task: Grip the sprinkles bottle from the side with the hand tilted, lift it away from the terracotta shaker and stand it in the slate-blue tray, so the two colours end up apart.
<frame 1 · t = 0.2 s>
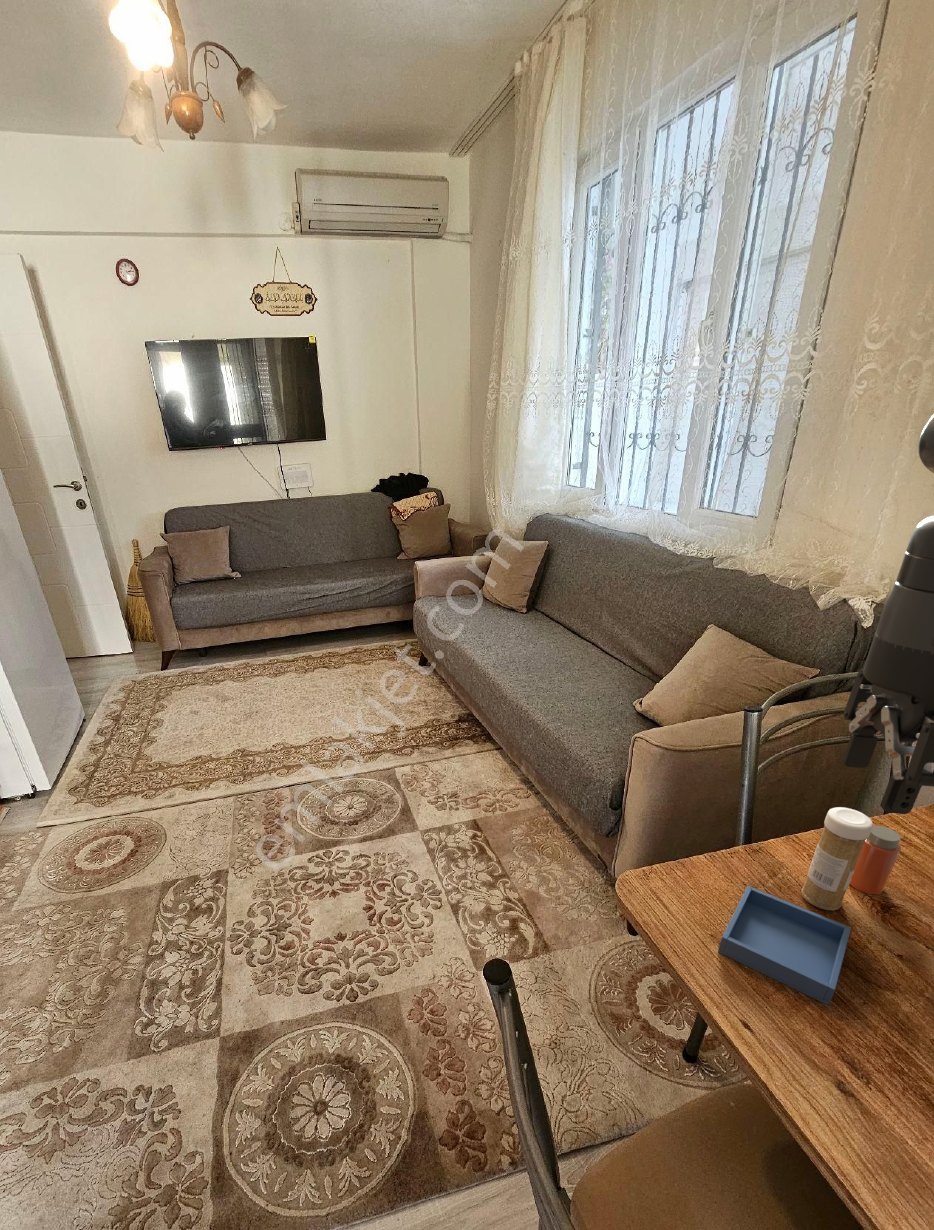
hand: (872, 787, 59), 23 cm above the table, tool pointing down, fingers open, 8 cm apart
blue tray: (781, 947, 70), on the table
terracotta shaker: (864, 884, 79), on the table
sprinkles bottle: (819, 900, 77), on the table
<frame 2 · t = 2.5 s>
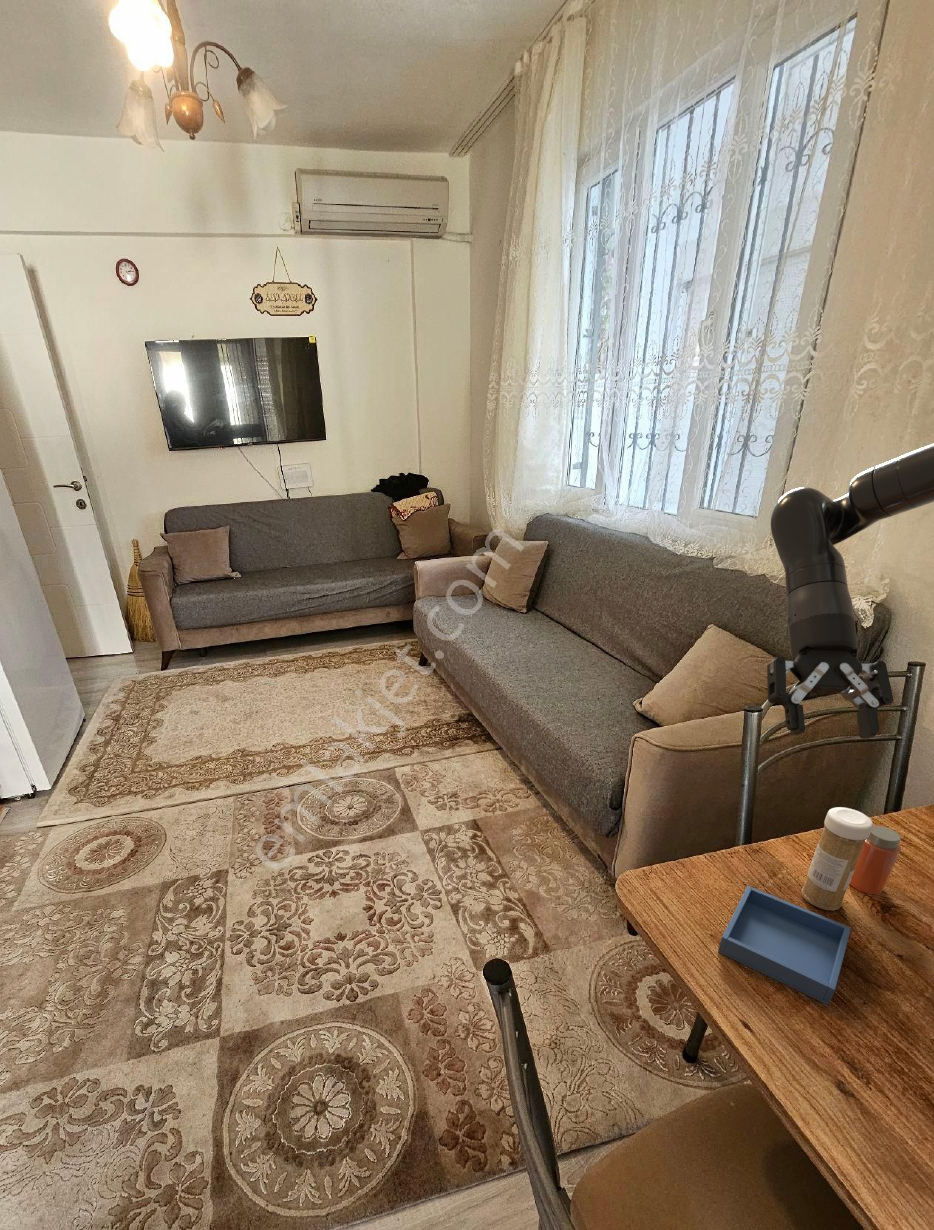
hand: (833, 735, 76), 20 cm above the table, tool tilted 40°, fingers open, 8 cm apart
nothing on the table moved.
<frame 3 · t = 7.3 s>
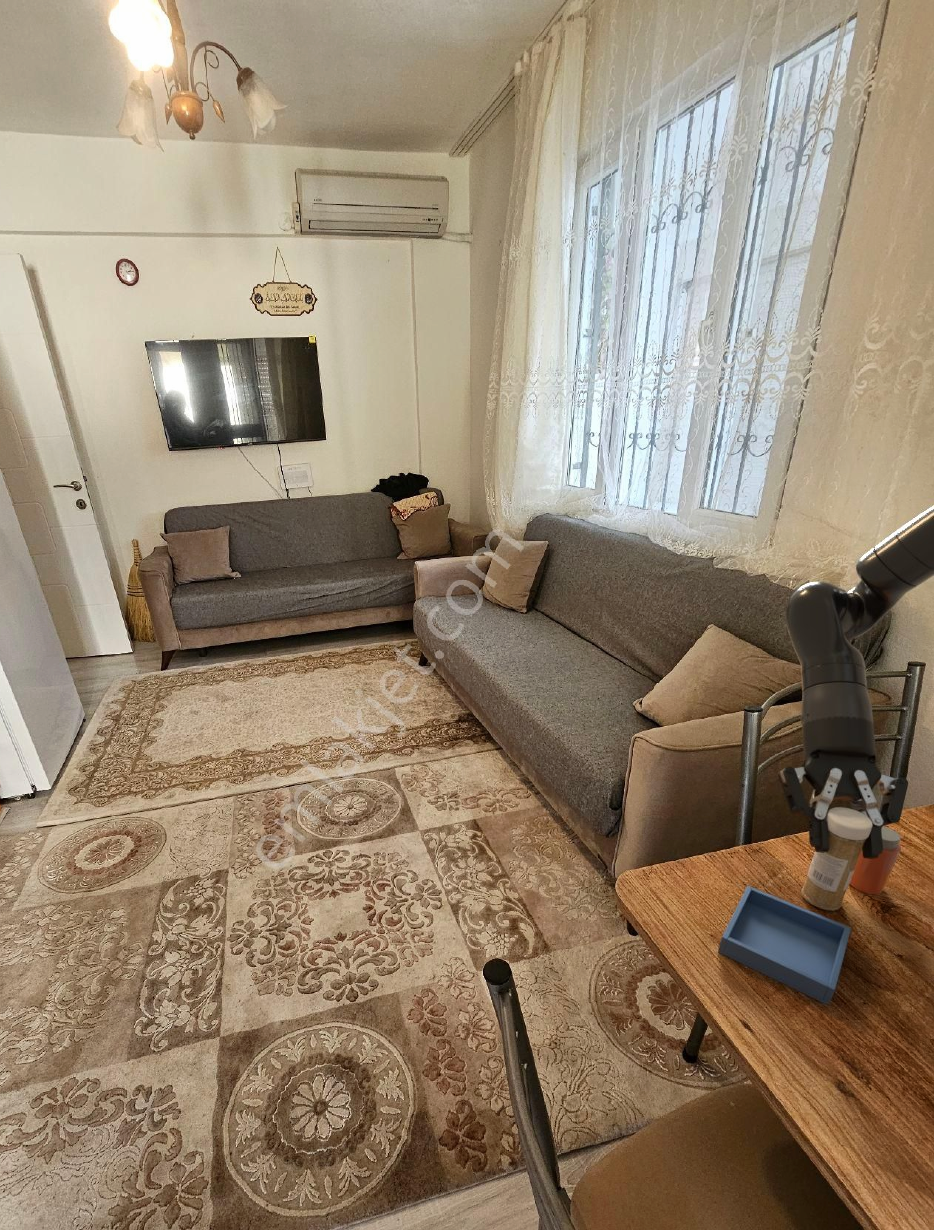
hand: (846, 854, 71), 9 cm above the table, tool tilted 45°, fingers closed on sprinkles bottle, 4 cm apart
sprinkles bottle: (819, 900, 77), on the table, touching gripper
everything else where it was.
when the fingers open (10 cm above the table, at t = 15.3 s): sprinkles bottle stays where it is, resting on blue tray.
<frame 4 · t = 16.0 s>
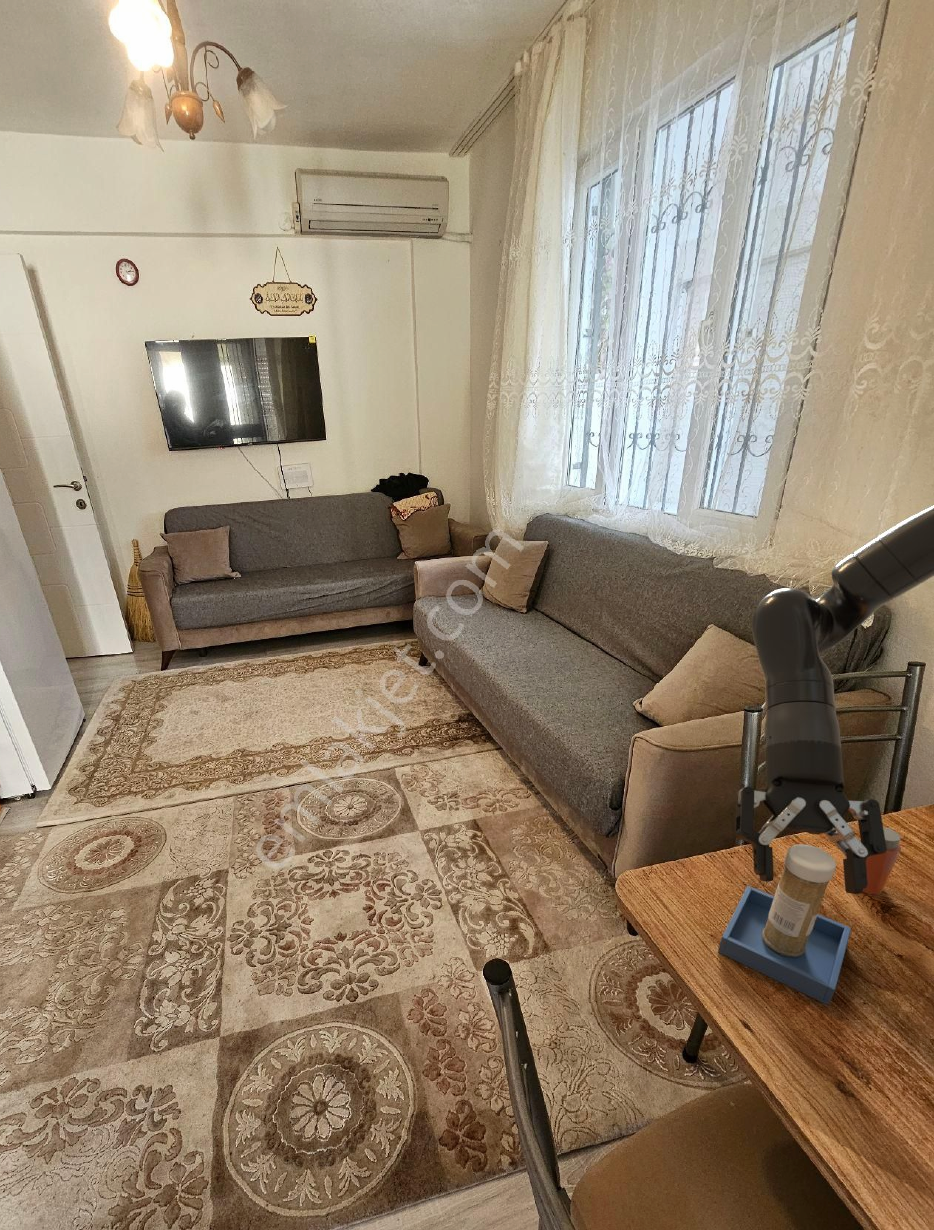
hand: (809, 887, 64), 11 cm above the table, tool tilted 45°, fingers open, 8 cm apart
sprinkles bottle: (781, 944, 70), resting on blue tray
everything else where it was.
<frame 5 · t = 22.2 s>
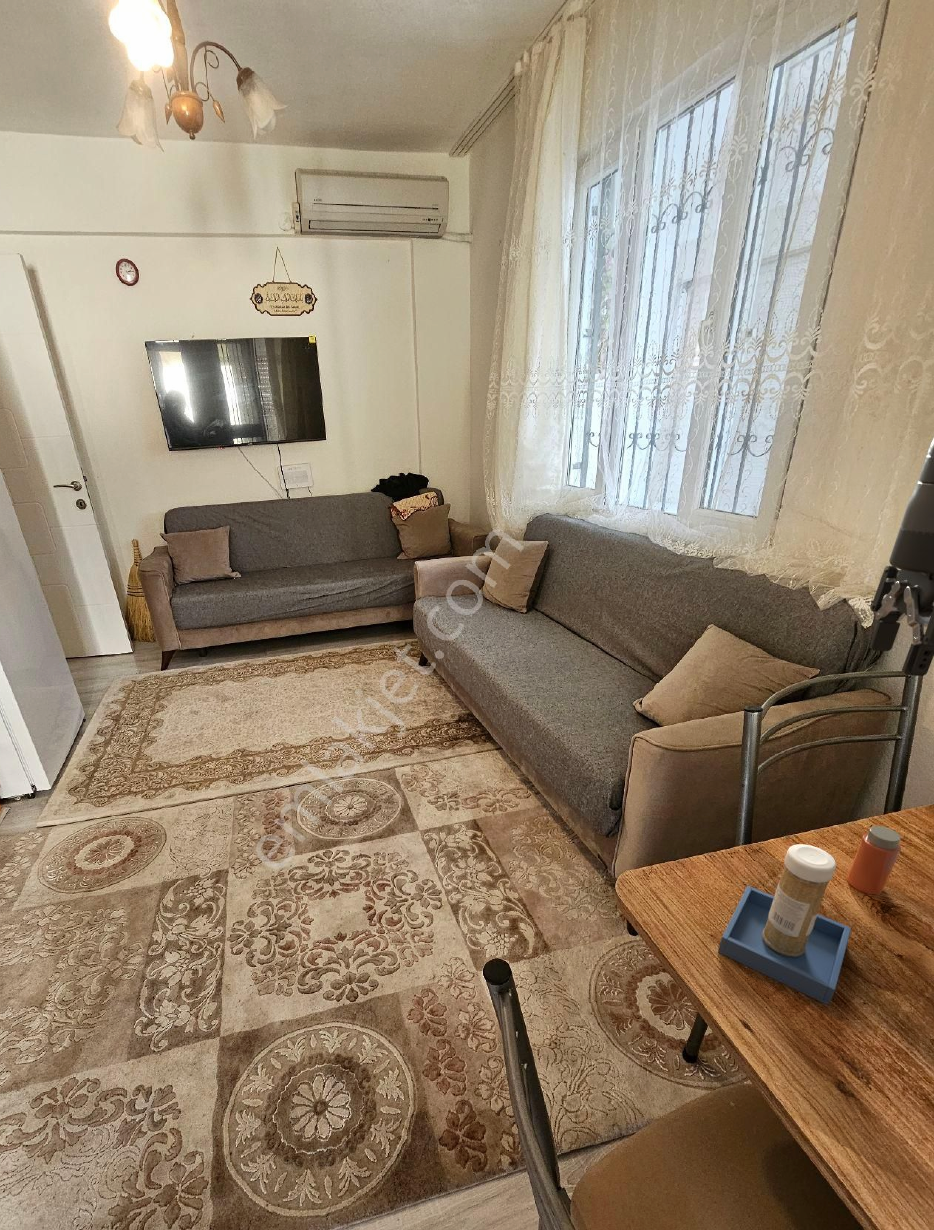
hand: (895, 661, 71), 30 cm above the table, tool pointing down, fingers open, 8 cm apart
nothing on the table moved.
at the end: sprinkles bottle inside the target area in the blue tray (0.2 cm from its centre), point 0.3 cm above the blue tray's base; sprinkles bottle tilted 0°; terracotta shaker moved 0.0 cm from its start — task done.
